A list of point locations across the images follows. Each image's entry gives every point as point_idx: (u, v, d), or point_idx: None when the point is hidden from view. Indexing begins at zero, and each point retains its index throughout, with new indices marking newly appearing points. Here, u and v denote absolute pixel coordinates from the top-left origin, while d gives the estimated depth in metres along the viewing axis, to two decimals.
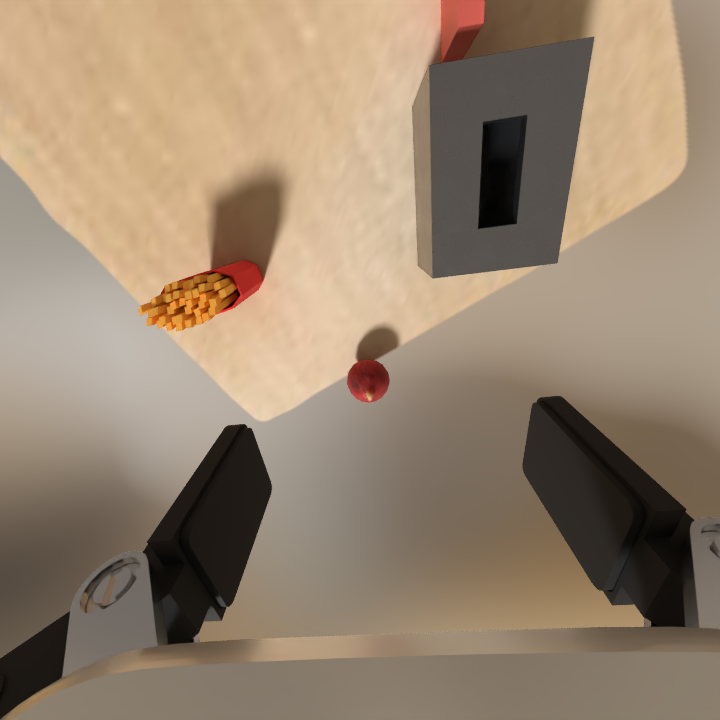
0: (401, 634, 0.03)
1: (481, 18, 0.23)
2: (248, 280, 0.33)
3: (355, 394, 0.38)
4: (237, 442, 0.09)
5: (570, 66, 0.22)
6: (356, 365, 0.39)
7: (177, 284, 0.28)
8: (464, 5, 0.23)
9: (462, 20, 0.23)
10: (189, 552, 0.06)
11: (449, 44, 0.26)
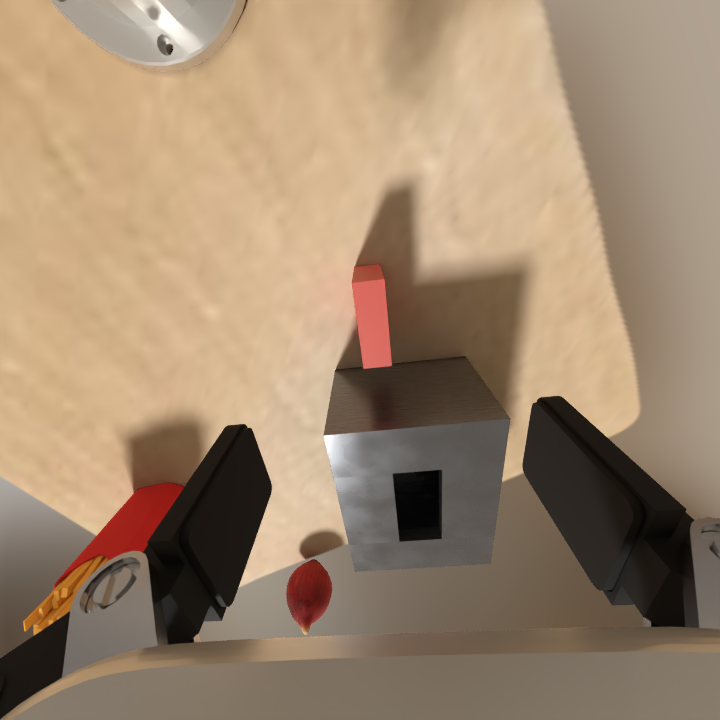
0: (401, 634, 0.03)
1: (388, 362, 0.20)
2: None
3: (292, 616, 0.36)
4: (237, 442, 0.09)
5: (485, 438, 0.19)
6: (295, 580, 0.37)
7: (67, 591, 0.25)
8: (367, 353, 0.20)
9: (366, 364, 0.20)
10: (189, 552, 0.06)
11: None
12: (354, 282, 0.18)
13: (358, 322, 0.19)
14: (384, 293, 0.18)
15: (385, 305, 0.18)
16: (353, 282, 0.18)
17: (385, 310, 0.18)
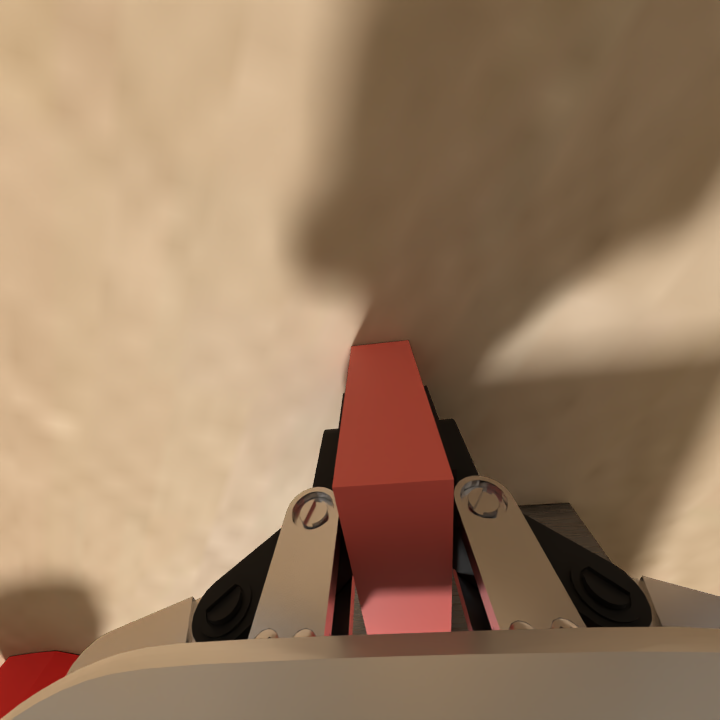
0: (401, 634, 0.03)
1: None
2: None
3: None
4: None
5: None
6: None
7: None
8: (384, 629, 0.07)
9: None
10: None
11: None
12: (342, 481, 0.05)
13: (357, 575, 0.06)
14: (448, 515, 0.05)
15: (448, 543, 0.05)
16: (339, 480, 0.05)
17: (446, 552, 0.06)
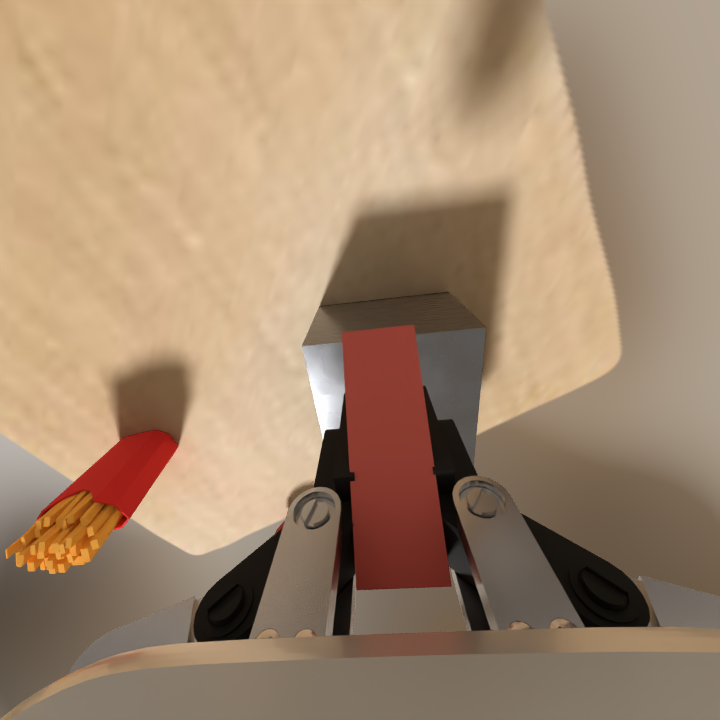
0: (401, 634, 0.03)
1: (439, 571, 0.06)
2: (146, 479, 0.30)
3: None
4: None
5: (462, 350, 0.19)
6: None
7: (50, 520, 0.25)
8: (372, 526, 0.07)
9: (368, 569, 0.06)
10: None
11: None
12: None
13: (350, 425, 0.07)
14: (415, 355, 0.08)
15: (419, 383, 0.07)
16: None
17: (419, 396, 0.07)
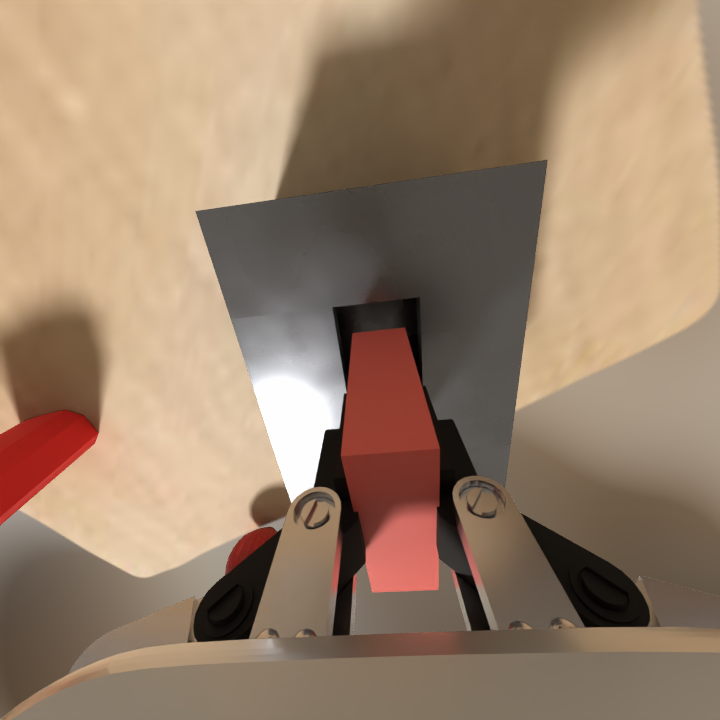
0: (401, 634, 0.03)
1: (427, 438, 0.06)
2: (29, 475, 0.21)
3: None
4: None
5: (498, 216, 0.10)
6: (237, 549, 0.27)
7: None
8: (362, 415, 0.07)
9: (354, 442, 0.06)
10: None
11: None
12: None
13: (352, 367, 0.09)
14: (405, 337, 0.10)
15: (408, 347, 0.10)
16: None
17: (408, 353, 0.09)
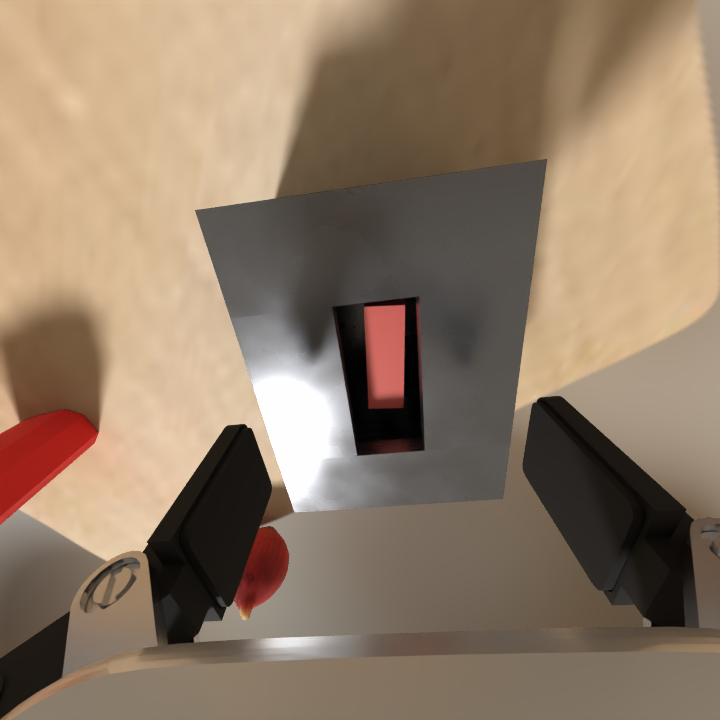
0: (401, 634, 0.03)
1: (400, 303, 0.14)
2: (29, 474, 0.21)
3: None
4: (237, 442, 0.09)
5: (498, 215, 0.10)
6: None
7: None
8: None
9: (369, 304, 0.14)
10: (189, 552, 0.06)
11: (366, 358, 0.15)
12: None
13: None
14: None
15: None
16: None
17: None
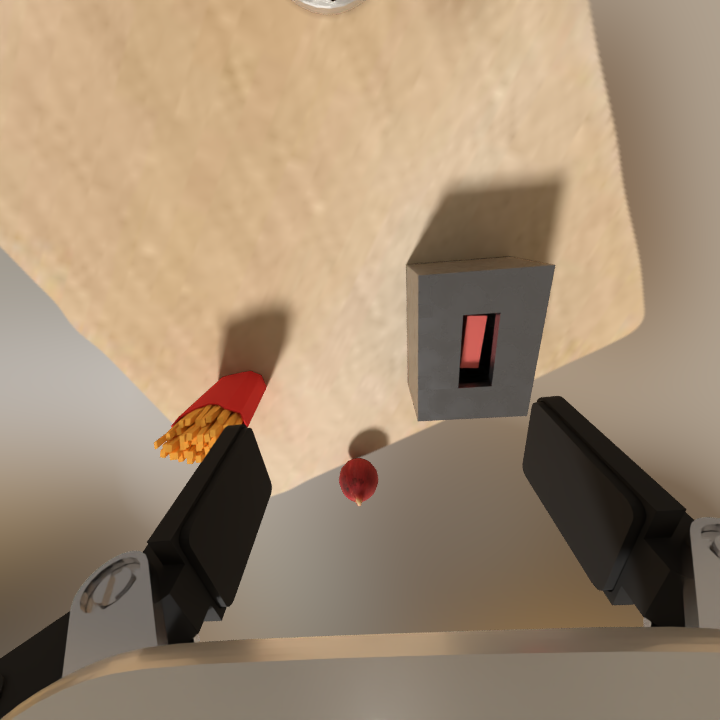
0: (401, 634, 0.03)
1: (484, 314, 0.30)
2: (253, 403, 0.36)
3: (346, 495, 0.42)
4: (237, 442, 0.09)
5: (536, 283, 0.26)
6: (348, 466, 0.43)
7: (190, 421, 0.31)
8: None
9: None
10: (189, 552, 0.06)
11: (463, 340, 0.31)
12: None
13: None
14: None
15: None
16: None
17: None
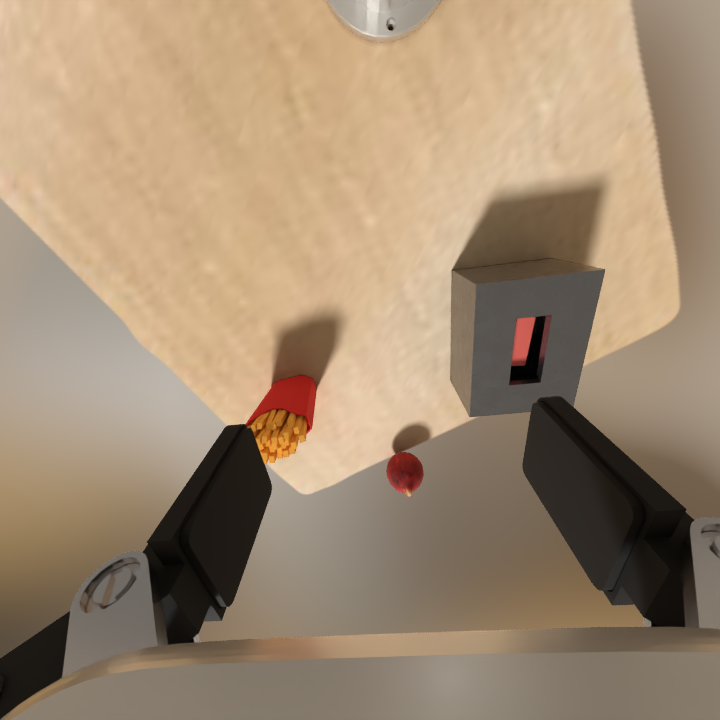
0: (401, 634, 0.03)
1: None
2: (311, 405, 0.39)
3: (395, 487, 0.45)
4: (237, 442, 0.09)
5: (586, 286, 0.28)
6: (395, 460, 0.46)
7: (261, 425, 0.34)
8: None
9: None
10: (189, 552, 0.06)
11: None
12: None
13: None
14: None
15: None
16: None
17: None
